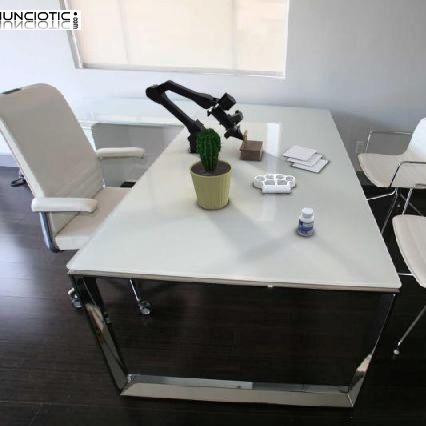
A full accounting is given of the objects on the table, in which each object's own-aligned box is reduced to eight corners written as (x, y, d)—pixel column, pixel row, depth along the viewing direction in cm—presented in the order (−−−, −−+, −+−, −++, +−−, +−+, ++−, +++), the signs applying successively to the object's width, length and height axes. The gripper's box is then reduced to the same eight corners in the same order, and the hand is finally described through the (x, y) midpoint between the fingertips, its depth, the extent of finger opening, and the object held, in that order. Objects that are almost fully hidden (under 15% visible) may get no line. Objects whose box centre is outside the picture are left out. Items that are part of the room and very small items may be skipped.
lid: (239, 150, 156) (239, 136, 153) (243, 141, 168) (243, 127, 164) (260, 152, 157) (260, 138, 153) (262, 142, 168) (263, 129, 164)
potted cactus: (214, 217, 115) (208, 137, 98) (184, 203, 121) (174, 126, 105) (241, 200, 126) (240, 126, 109) (212, 188, 132) (207, 117, 116)
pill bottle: (296, 227, 113) (299, 206, 108) (311, 227, 114) (314, 206, 109) (298, 236, 109) (300, 214, 104) (313, 236, 109) (316, 215, 104)
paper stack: (333, 155, 172) (333, 154, 171) (317, 172, 152) (317, 171, 152) (294, 146, 179) (294, 145, 179) (274, 161, 160) (274, 160, 159)
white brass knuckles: (255, 195, 130) (253, 178, 142) (297, 194, 133) (292, 179, 145) (255, 187, 128) (253, 172, 140) (298, 187, 131) (293, 172, 143)
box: (241, 159, 159) (240, 150, 157) (244, 149, 170) (244, 141, 168) (259, 161, 159) (260, 152, 157) (262, 150, 171) (262, 142, 168)
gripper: (229, 111, 144) (253, 136, 150) (236, 101, 159) (258, 124, 165) (213, 127, 148) (237, 150, 154) (221, 115, 163) (243, 137, 170)
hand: (244, 140), depth 161 cm, fingers closed
